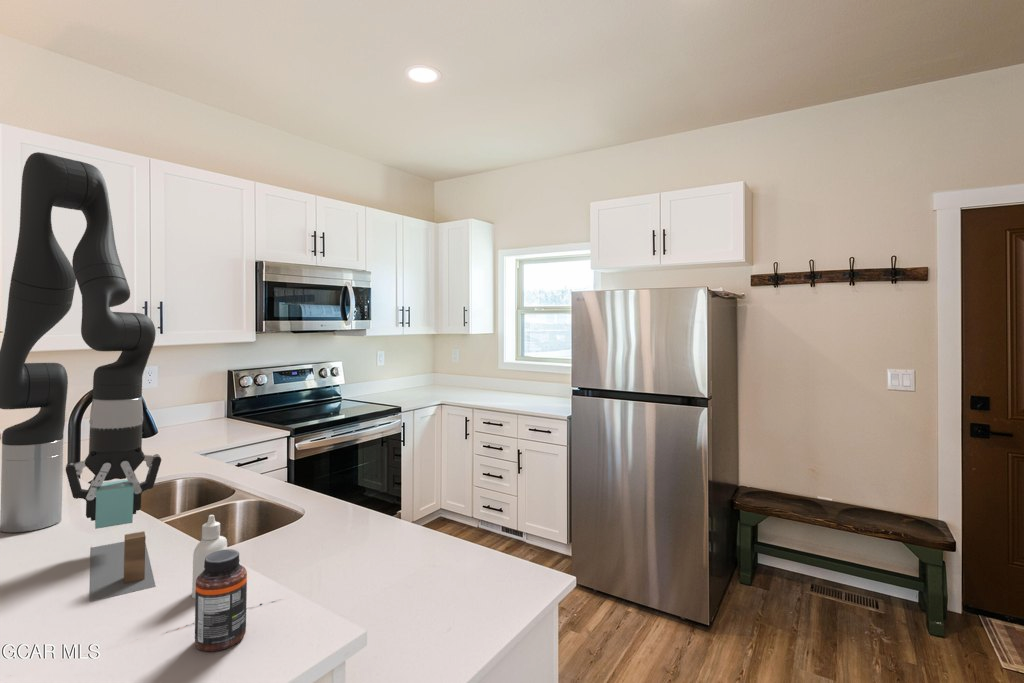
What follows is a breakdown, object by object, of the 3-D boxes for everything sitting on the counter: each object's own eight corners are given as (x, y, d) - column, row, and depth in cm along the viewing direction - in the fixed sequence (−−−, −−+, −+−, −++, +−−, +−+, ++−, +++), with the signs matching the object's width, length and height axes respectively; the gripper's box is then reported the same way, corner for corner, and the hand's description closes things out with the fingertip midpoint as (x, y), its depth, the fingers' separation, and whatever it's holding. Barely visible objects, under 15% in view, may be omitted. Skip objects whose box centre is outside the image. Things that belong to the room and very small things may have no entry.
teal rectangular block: (94, 519, 93) (96, 483, 92) (130, 514, 96) (131, 479, 96) (95, 528, 89) (96, 491, 88) (132, 522, 92) (133, 486, 92)
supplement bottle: (208, 627, 70) (210, 545, 70) (253, 626, 71) (255, 545, 71) (184, 654, 64) (186, 564, 64) (233, 653, 65) (235, 564, 65)
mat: (90, 549, 94) (90, 547, 94) (144, 539, 99) (144, 537, 99) (89, 604, 75) (89, 601, 75) (155, 588, 80) (155, 586, 80)
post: (123, 577, 83) (124, 534, 83) (143, 573, 84) (144, 531, 84) (124, 584, 81) (125, 539, 81) (144, 579, 82) (145, 536, 82)
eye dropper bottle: (235, 588, 81) (237, 513, 81) (198, 604, 76) (200, 523, 76) (220, 581, 83) (221, 507, 83) (183, 595, 78) (185, 517, 78)
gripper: (162, 416, 99) (159, 503, 100) (64, 422, 90) (61, 517, 91) (167, 423, 94) (163, 515, 94) (63, 429, 84) (59, 531, 85)
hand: (113, 515), depth 92 cm, fingers closed on teal rectangular block, 5 cm apart
